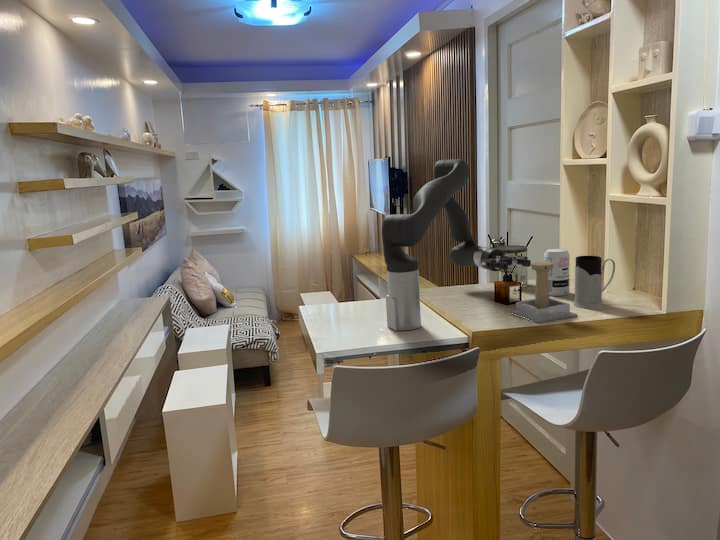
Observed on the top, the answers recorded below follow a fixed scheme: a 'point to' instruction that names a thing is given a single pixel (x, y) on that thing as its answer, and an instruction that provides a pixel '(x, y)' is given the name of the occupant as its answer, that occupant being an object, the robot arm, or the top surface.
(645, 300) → the top surface
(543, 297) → the handle
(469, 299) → the top surface
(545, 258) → the supplement can
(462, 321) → the top surface
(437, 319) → the top surface
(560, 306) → the collar
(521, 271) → the lidded glass jar
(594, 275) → the grey mug
